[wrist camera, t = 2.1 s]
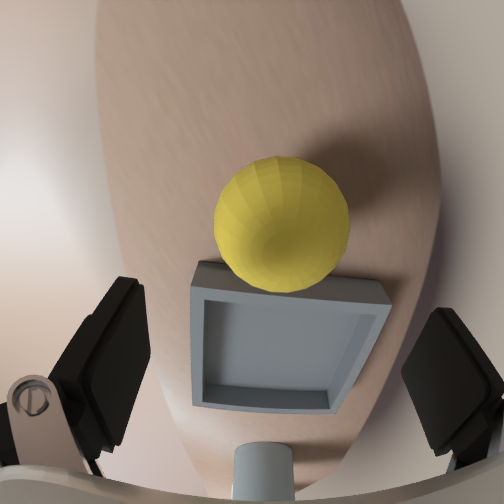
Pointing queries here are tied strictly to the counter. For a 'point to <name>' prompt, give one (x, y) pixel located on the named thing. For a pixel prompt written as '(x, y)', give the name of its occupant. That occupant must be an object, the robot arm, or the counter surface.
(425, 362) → the robot arm
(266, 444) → the spray bottle
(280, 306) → the tray
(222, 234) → the light bulb
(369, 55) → the counter surface
